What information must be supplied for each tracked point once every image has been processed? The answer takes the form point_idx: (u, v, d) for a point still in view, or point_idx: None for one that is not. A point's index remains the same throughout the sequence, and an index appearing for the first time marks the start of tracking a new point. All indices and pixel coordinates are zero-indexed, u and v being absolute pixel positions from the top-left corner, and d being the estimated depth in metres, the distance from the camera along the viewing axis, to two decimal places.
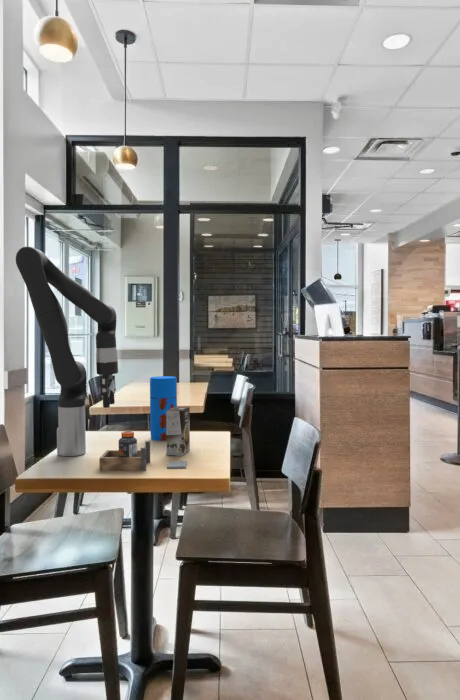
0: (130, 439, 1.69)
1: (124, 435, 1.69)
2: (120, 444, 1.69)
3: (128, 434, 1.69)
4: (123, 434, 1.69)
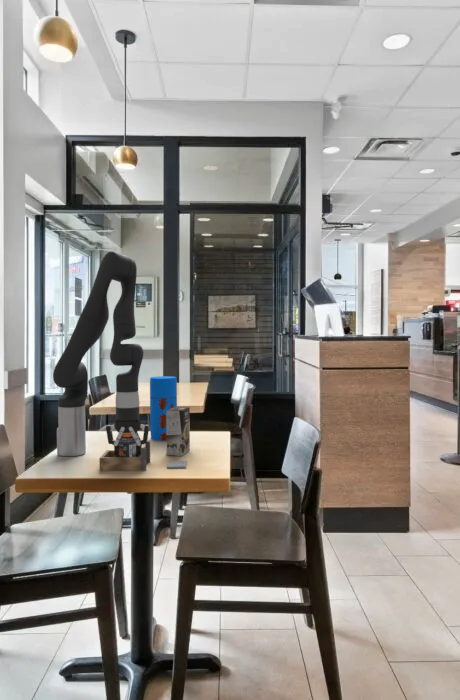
0: (130, 439, 1.69)
1: (124, 435, 1.69)
2: (120, 444, 1.69)
3: (128, 434, 1.69)
4: (123, 434, 1.69)
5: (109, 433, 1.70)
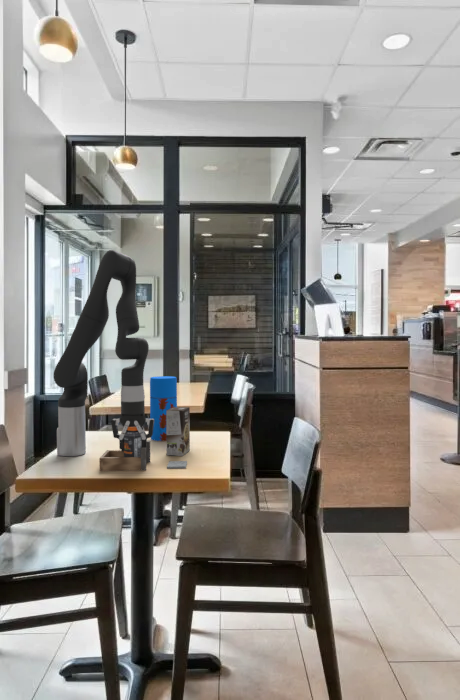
0: (136, 433, 1.69)
1: (129, 429, 1.69)
2: (125, 438, 1.69)
3: (133, 428, 1.69)
4: (128, 428, 1.69)
5: (114, 427, 1.70)
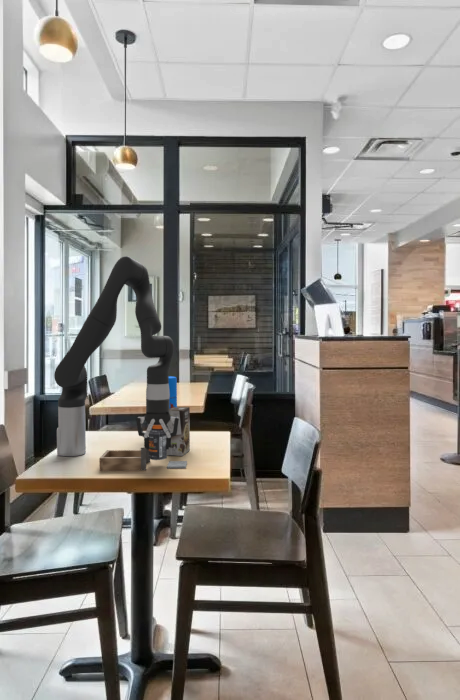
0: (161, 431, 1.69)
1: (154, 427, 1.69)
2: (150, 436, 1.69)
3: (158, 426, 1.69)
4: (153, 426, 1.69)
5: (139, 425, 1.70)
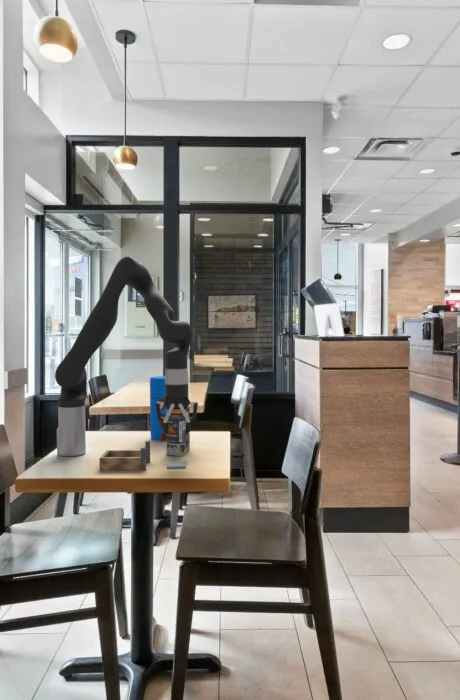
0: (180, 416, 1.69)
1: (173, 412, 1.69)
2: (170, 421, 1.69)
3: (178, 411, 1.69)
4: (173, 411, 1.70)
5: (159, 410, 1.70)
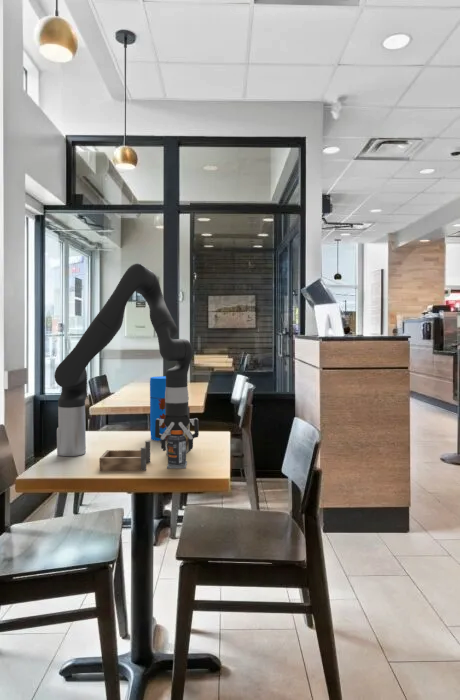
0: (180, 437, 1.70)
1: (173, 432, 1.70)
2: (170, 442, 1.69)
3: (178, 432, 1.69)
4: (173, 432, 1.70)
5: (157, 427, 1.70)
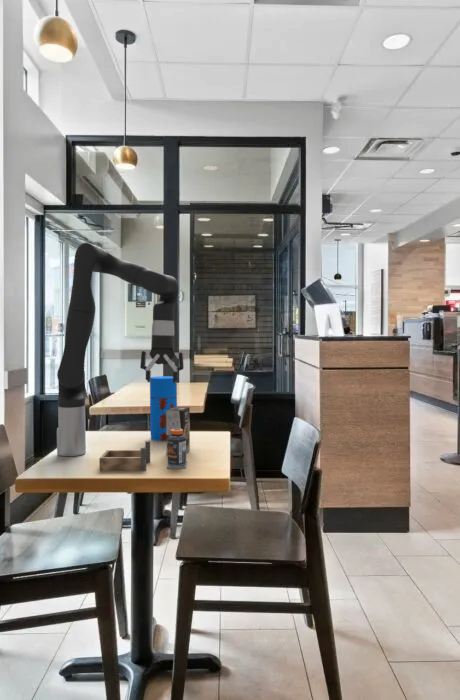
0: (180, 437, 1.69)
1: (173, 433, 1.70)
2: (170, 442, 1.69)
3: (178, 432, 1.69)
4: (173, 432, 1.70)
5: (143, 358, 1.76)
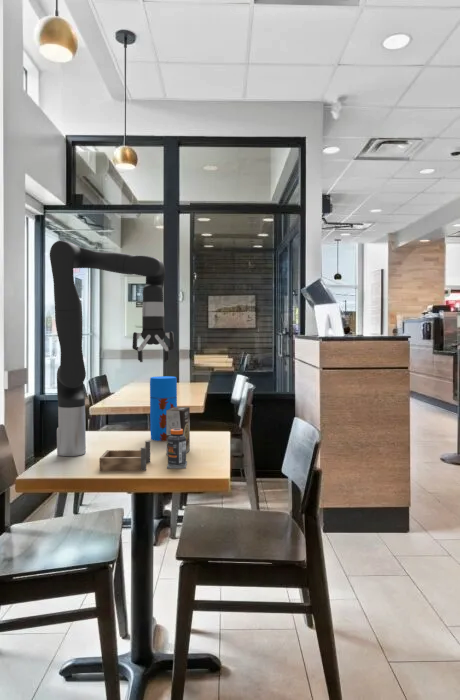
0: (180, 437, 1.69)
1: (173, 433, 1.70)
2: (170, 442, 1.69)
3: (178, 432, 1.69)
4: (173, 432, 1.70)
5: (135, 339, 1.82)
